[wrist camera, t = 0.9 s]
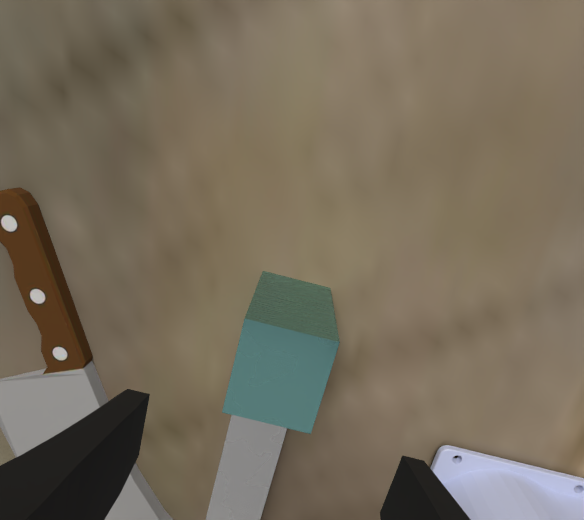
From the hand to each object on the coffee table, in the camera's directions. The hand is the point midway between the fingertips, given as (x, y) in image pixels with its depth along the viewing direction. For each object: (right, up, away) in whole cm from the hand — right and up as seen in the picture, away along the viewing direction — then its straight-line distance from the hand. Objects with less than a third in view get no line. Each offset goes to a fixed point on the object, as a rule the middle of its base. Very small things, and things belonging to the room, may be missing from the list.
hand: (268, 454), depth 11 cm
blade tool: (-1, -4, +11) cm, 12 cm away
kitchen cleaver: (-13, -3, +12) cm, 18 cm away
